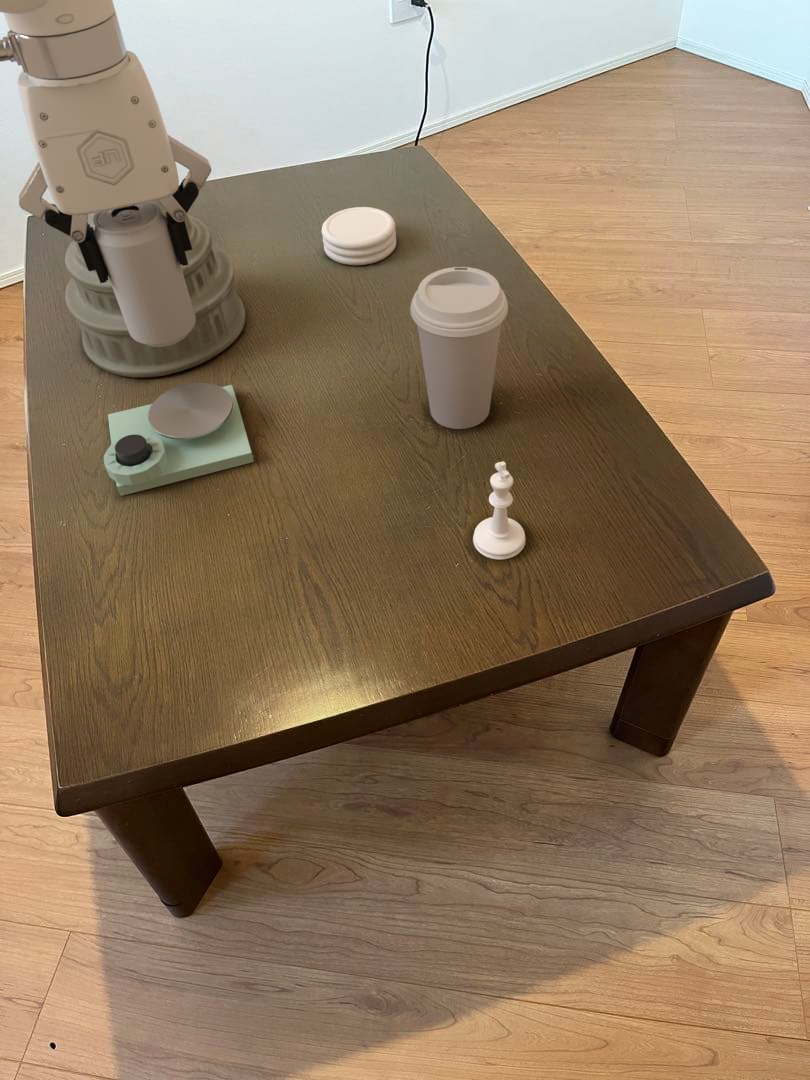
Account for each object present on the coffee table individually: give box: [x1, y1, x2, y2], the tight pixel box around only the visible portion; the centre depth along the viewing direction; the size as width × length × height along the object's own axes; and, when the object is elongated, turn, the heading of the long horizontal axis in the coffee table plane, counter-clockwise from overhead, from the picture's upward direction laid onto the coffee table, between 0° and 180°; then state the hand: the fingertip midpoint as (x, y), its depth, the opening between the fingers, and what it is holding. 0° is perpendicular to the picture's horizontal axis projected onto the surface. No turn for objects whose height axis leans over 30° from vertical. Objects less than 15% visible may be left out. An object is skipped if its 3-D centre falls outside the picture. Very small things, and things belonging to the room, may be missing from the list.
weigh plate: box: [148, 381, 233, 439], centre depth 89 cm, size 9×9×1 cm
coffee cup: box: [409, 266, 509, 430], centre depth 85 cm, size 10×10×15 cm
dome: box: [64, 200, 246, 379], centre depth 95 cm, size 20×25×20 cm
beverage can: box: [93, 201, 196, 347], centre depth 75 cm, size 6×6×12 cm
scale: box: [103, 384, 255, 497], centre depth 89 cm, size 14×12×3 cm
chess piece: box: [472, 460, 526, 561], centre depth 75 cm, size 5×5×10 cm
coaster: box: [321, 206, 397, 266], centre depth 113 cm, size 10×10×4 cm
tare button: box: [115, 434, 150, 466], centre depth 85 cm, size 3×3×2 cm
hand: (143, 264), depth 74 cm, fingers closed on beverage can, 6 cm apart
